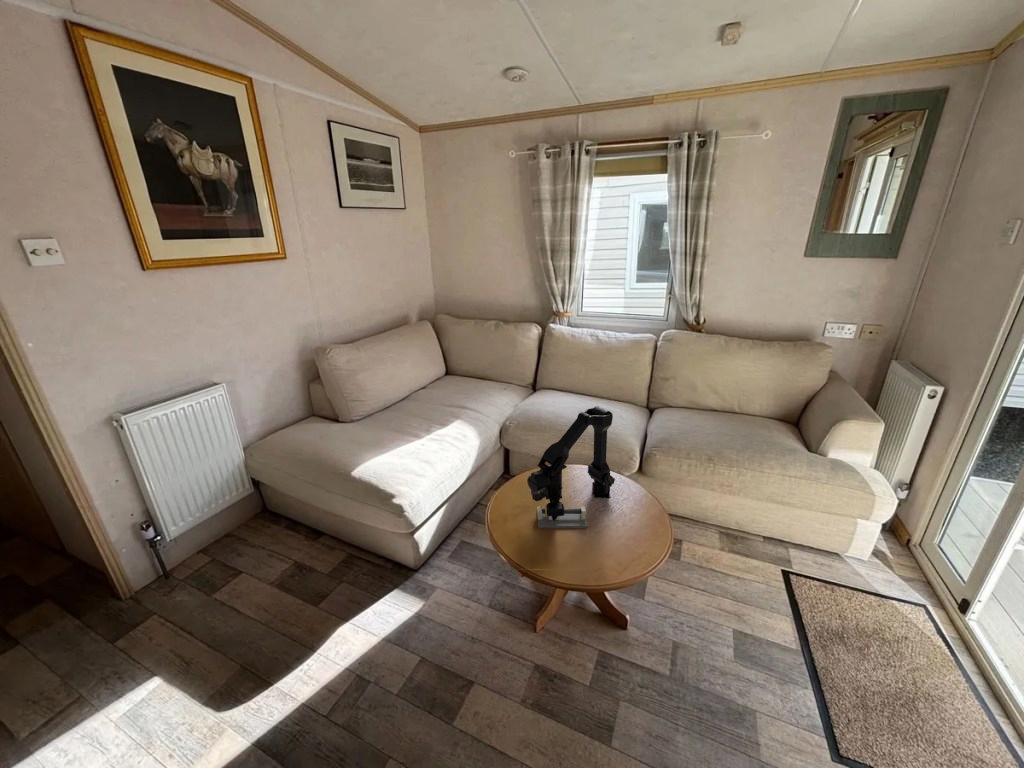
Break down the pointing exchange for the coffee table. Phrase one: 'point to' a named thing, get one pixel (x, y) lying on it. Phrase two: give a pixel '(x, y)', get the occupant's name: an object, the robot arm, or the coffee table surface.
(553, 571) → the coffee table surface
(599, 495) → the robot arm
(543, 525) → the grey rod slide mechanism
